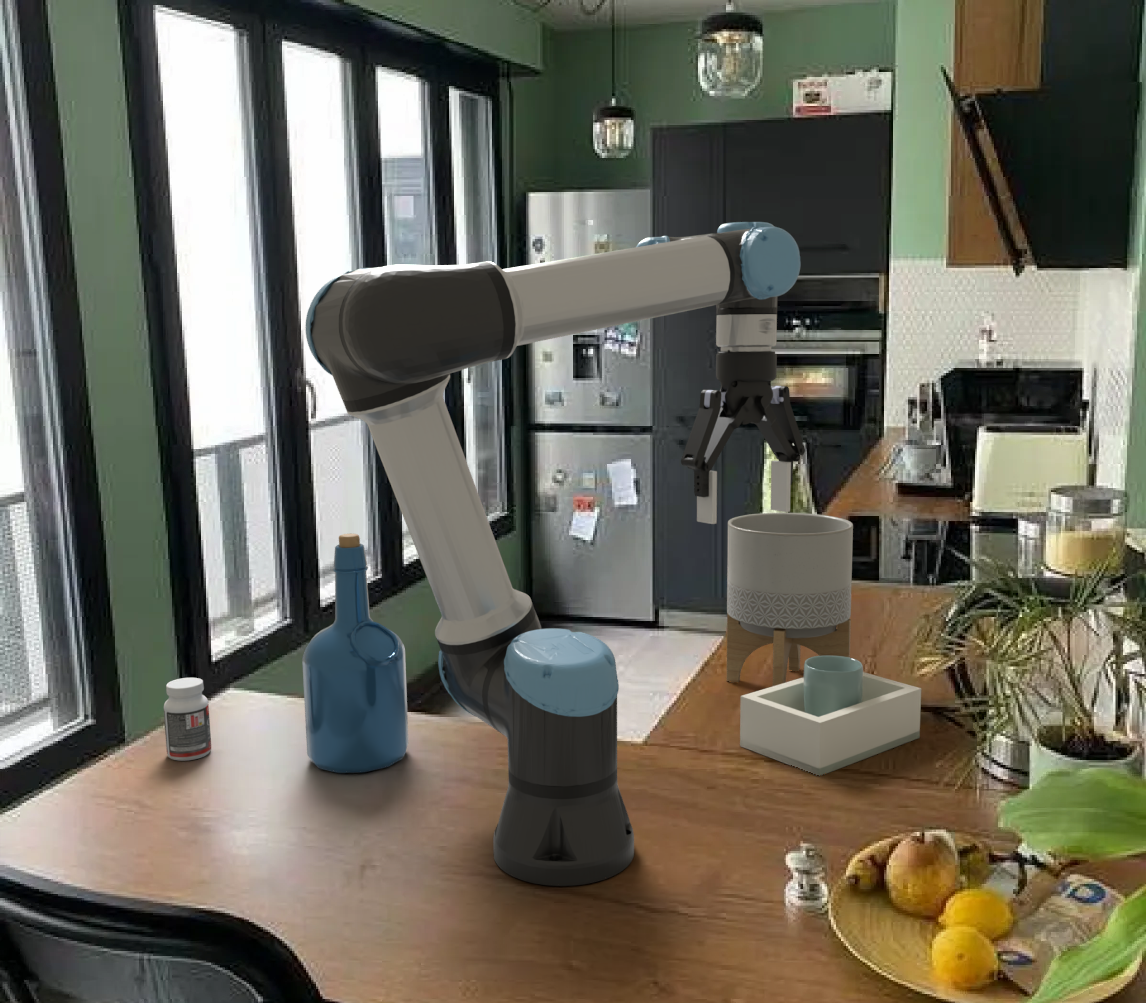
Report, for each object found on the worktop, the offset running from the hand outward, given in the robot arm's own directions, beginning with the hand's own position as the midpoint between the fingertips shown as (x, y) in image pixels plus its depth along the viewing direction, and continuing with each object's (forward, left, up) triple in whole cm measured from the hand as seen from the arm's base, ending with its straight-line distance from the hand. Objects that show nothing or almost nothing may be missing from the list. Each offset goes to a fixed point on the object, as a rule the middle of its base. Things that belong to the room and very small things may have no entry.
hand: (744, 516), depth 145 cm
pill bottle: (-57, +47, -32) cm, 80 cm away
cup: (+12, -5, -31) cm, 34 cm away
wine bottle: (-40, +31, -32) cm, 60 cm away
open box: (+12, -5, -32) cm, 34 cm away
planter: (+26, +15, -32) cm, 44 cm away
